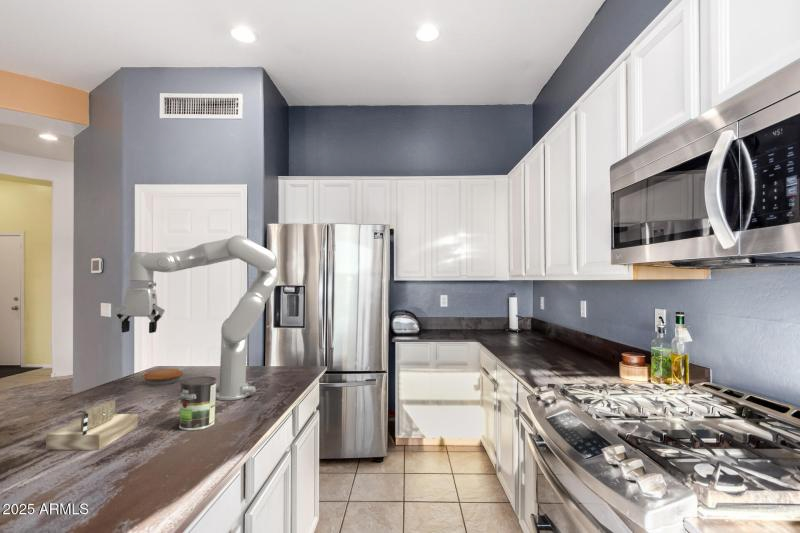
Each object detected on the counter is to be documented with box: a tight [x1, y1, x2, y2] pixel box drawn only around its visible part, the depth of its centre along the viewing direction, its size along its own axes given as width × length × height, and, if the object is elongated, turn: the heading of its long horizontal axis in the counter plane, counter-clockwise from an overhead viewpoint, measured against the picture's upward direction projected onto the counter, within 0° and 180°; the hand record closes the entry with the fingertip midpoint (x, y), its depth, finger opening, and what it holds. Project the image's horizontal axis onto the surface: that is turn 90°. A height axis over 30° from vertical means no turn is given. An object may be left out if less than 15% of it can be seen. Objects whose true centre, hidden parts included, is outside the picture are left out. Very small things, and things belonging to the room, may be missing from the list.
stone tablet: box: [80, 399, 116, 436], centre depth 111 cm, size 6×4×12 cm
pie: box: [142, 368, 184, 386], centre depth 172 cm, size 16×16×5 cm
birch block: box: [45, 413, 139, 451], centre depth 113 cm, size 14×16×4 cm
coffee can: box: [178, 375, 218, 431], centre depth 124 cm, size 10×10×14 cm
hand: (138, 332), depth 142 cm, fingers open, 9 cm apart
